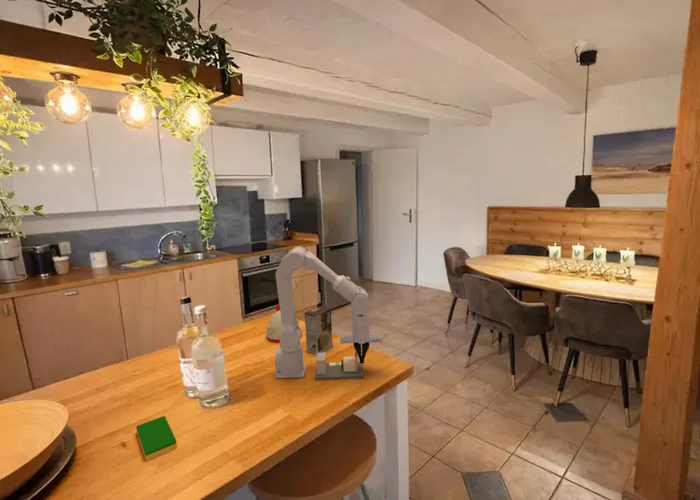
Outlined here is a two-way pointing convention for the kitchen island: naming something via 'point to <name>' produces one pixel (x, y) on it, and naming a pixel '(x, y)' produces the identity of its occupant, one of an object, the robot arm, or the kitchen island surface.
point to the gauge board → (334, 370)
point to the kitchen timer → (274, 327)
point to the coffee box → (318, 329)
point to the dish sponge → (156, 438)
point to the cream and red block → (350, 363)
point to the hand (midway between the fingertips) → (361, 362)
